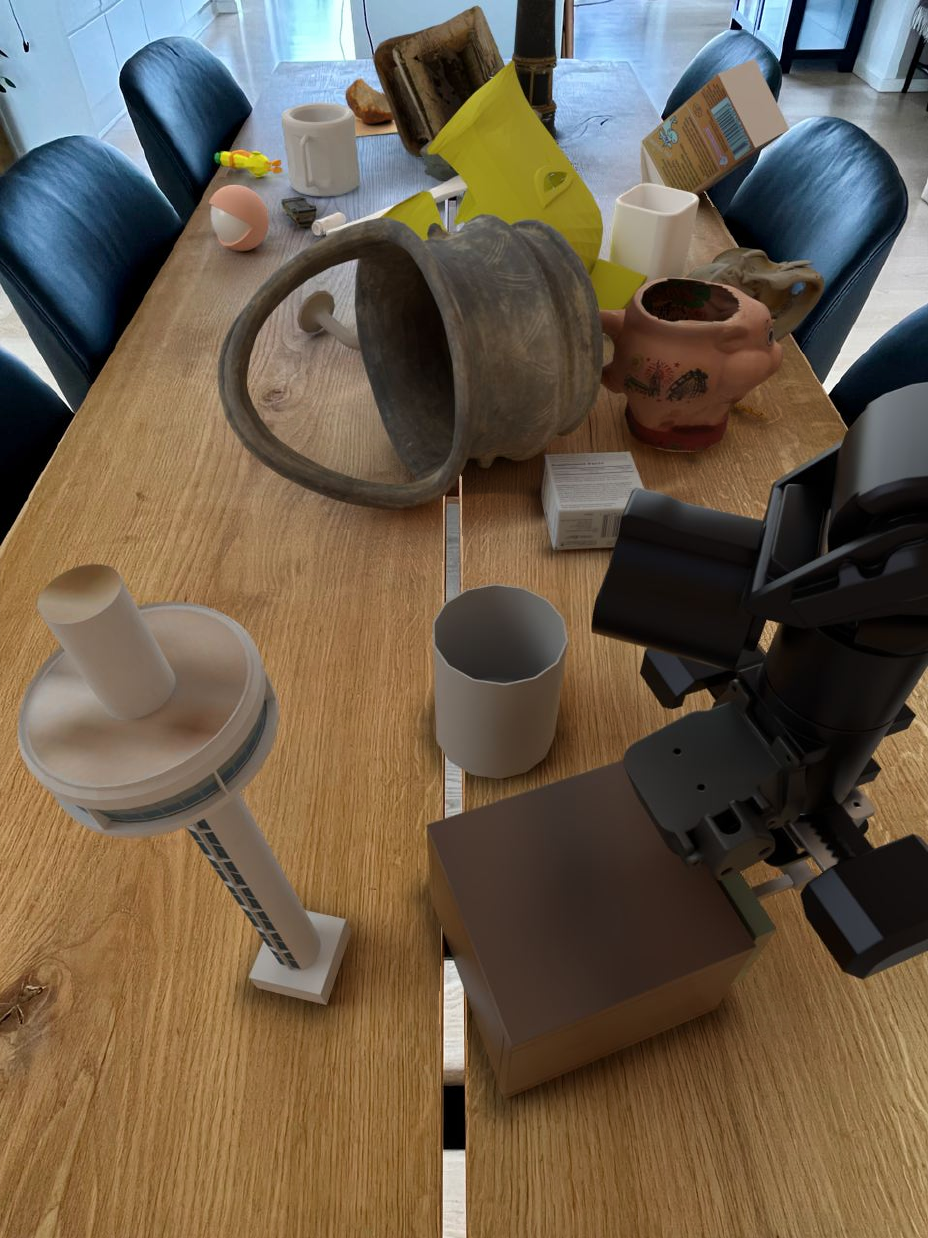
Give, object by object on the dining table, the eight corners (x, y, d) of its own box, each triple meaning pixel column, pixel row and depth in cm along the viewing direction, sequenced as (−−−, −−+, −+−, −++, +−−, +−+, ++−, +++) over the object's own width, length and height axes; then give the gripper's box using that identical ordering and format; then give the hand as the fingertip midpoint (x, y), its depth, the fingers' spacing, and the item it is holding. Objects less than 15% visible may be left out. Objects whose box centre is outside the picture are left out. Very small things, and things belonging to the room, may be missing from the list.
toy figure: (293, 175, 133) (237, 165, 138) (291, 150, 131) (234, 141, 136) (265, 182, 129) (207, 172, 133) (262, 156, 127) (204, 146, 131)
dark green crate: (277, 198, 121) (280, 216, 122) (293, 210, 115) (295, 229, 117) (302, 194, 122) (305, 213, 124) (318, 206, 116) (321, 225, 118)
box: (644, 549, 71) (623, 490, 77) (652, 506, 68) (630, 448, 74) (552, 552, 71) (539, 493, 77) (556, 509, 68) (542, 451, 74)
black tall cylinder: (550, 125, 150) (566, -93, 128) (560, 141, 144) (579, -85, 122) (501, 126, 149) (508, -93, 128) (509, 143, 143) (518, -84, 121)
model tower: (207, 1018, 46) (-129, 681, 23) (266, 876, 51) (39, 492, 29) (349, 1055, 44) (133, 727, 21) (396, 903, 49) (260, 515, 27)
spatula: (320, 230, 114) (325, 248, 116) (338, 230, 112) (344, 249, 113) (458, 170, 128) (462, 187, 129) (478, 169, 125) (481, 187, 127)
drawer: (717, 798, 54) (743, 737, 49) (817, 949, 47) (859, 895, 42) (480, 882, 50) (482, 824, 45) (553, 1060, 43) (565, 1015, 38)
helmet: (521, 105, 97) (659, 317, 94) (355, 225, 100) (485, 432, 98) (505, 6, 81) (671, 257, 79) (309, 152, 85) (463, 397, 82)
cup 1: (489, 801, 55) (494, 708, 47) (411, 723, 59) (404, 627, 52) (578, 731, 58) (595, 635, 51) (498, 663, 63) (503, 566, 55)
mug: (303, 170, 133) (294, 98, 126) (368, 175, 132) (363, 103, 125) (274, 201, 124) (262, 126, 117) (343, 207, 123) (336, 132, 116)
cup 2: (678, 328, 98) (705, 195, 87) (649, 354, 94) (673, 217, 83) (623, 311, 101) (642, 180, 90) (593, 335, 97) (609, 200, 86)
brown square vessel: (367, 110, 125) (331, 141, 143) (499, 185, 137) (451, 205, 154) (413, -41, 122) (371, 9, 140) (544, 49, 134) (490, 85, 151)
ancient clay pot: (621, 205, 62) (225, 281, 51) (612, 489, 75) (297, 594, 65) (478, 179, 78) (156, 232, 68) (492, 415, 92) (225, 490, 81)
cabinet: (617, 831, 53) (638, 754, 47) (716, 1009, 46) (757, 946, 39) (430, 897, 50) (425, 824, 44) (504, 1100, 43) (511, 1047, 36)
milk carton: (789, 129, 118) (687, 205, 134) (754, 57, 116) (654, 143, 131) (755, 147, 112) (652, 225, 128) (717, 73, 110) (618, 161, 126)
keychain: (766, 418, 85) (767, 409, 84) (760, 423, 84) (761, 414, 83) (701, 393, 89) (702, 384, 88) (695, 397, 89) (696, 389, 88)
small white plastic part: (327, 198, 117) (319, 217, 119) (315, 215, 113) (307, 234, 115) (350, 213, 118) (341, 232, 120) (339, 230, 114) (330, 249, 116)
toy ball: (203, 247, 114) (190, 185, 108) (251, 231, 117) (240, 171, 112) (236, 265, 110) (224, 202, 104) (284, 248, 113) (275, 187, 108)
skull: (842, 222, 86) (751, 212, 94) (719, 293, 81) (634, 276, 89) (837, 328, 93) (753, 310, 102) (724, 400, 88) (645, 375, 96)
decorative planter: (558, 462, 80) (572, 325, 70) (554, 393, 88) (567, 262, 78) (768, 469, 79) (814, 331, 69) (745, 399, 88) (782, 267, 77)
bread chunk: (416, 129, 147) (381, 72, 139) (365, 170, 150) (328, 115, 142) (400, 103, 157) (367, 48, 149) (352, 142, 159) (317, 89, 152)
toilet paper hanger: (343, 380, 93) (345, 339, 89) (297, 339, 96) (296, 298, 92) (498, 308, 105) (507, 270, 101) (453, 274, 108) (460, 235, 104)
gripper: (567, 582, 40) (545, 766, 51) (812, 947, 28) (711, 1081, 39) (765, 528, 42) (702, 714, 54) (1066, 839, 30) (903, 994, 42)
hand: (744, 854), depth 47 cm, fingers closed
